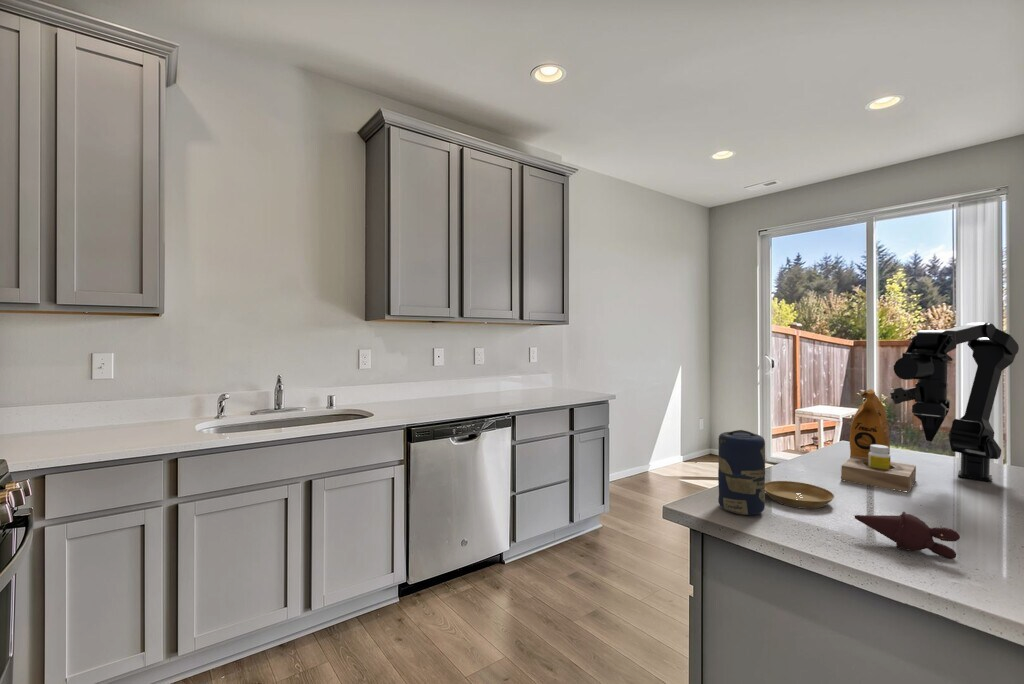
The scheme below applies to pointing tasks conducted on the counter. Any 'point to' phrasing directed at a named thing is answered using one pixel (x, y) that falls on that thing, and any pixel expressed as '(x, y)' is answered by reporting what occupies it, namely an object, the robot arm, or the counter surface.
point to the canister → (741, 472)
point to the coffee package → (869, 426)
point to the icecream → (911, 533)
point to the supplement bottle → (879, 457)
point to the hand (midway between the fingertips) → (931, 438)
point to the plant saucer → (810, 493)
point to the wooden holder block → (879, 474)
